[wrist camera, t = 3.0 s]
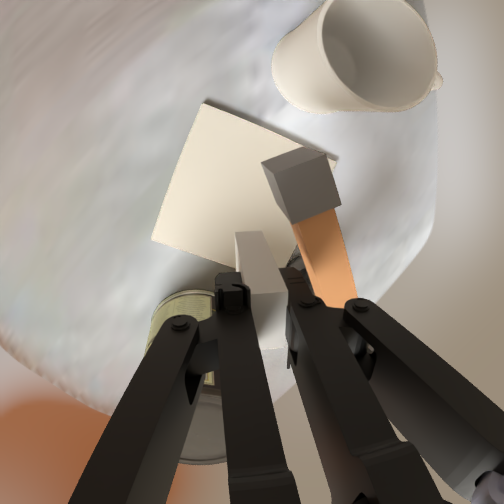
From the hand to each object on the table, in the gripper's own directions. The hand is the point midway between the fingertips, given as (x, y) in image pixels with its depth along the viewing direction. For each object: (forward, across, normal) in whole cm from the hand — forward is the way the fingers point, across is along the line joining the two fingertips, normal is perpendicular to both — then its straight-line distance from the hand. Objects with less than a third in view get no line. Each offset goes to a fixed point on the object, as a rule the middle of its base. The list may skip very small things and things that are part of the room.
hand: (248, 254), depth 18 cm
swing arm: (0, +5, -2) cm, 5 cm away
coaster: (+12, +1, 0) cm, 12 cm away
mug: (+12, +9, +12) cm, 19 cm away
